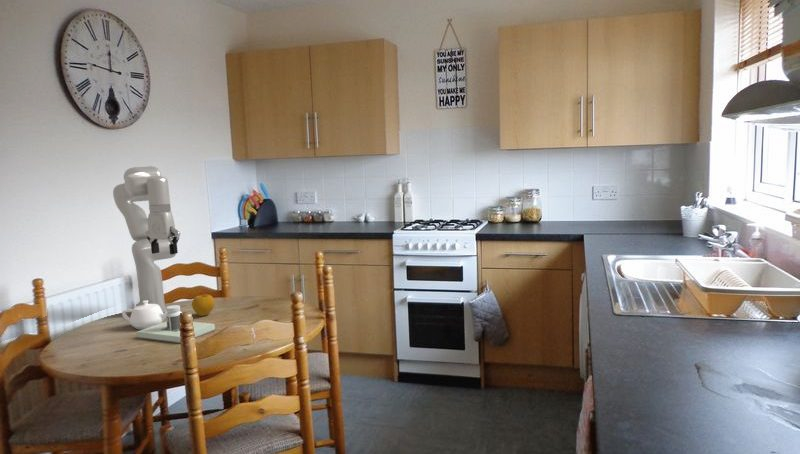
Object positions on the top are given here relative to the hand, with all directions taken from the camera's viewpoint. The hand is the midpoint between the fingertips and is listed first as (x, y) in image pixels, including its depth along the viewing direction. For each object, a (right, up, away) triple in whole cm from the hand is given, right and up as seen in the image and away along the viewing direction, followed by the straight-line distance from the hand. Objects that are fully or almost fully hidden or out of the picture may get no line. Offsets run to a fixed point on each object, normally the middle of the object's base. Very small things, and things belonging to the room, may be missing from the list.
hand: (164, 253), depth 222 cm
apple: (+10, -26, +15) cm, 32 cm away
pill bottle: (+8, -29, -10) cm, 32 cm away
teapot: (-7, -29, +3) cm, 30 cm away
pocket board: (+8, -29, -10) cm, 32 cm away
